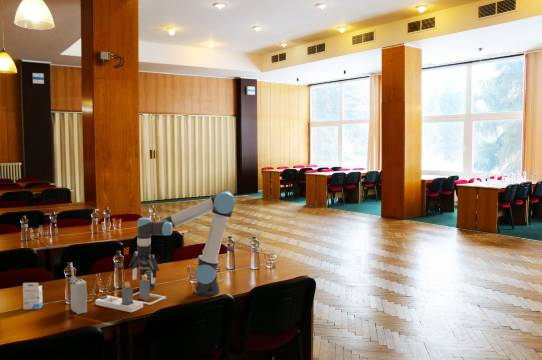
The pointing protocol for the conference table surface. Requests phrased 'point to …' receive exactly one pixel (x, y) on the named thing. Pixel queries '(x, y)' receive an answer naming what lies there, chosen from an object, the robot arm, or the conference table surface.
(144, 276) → the grey bottle
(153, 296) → the tray
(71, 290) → the jerry can
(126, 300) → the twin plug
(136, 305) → the strip
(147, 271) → the coffee jar
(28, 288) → the ink box
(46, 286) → the conference table surface
